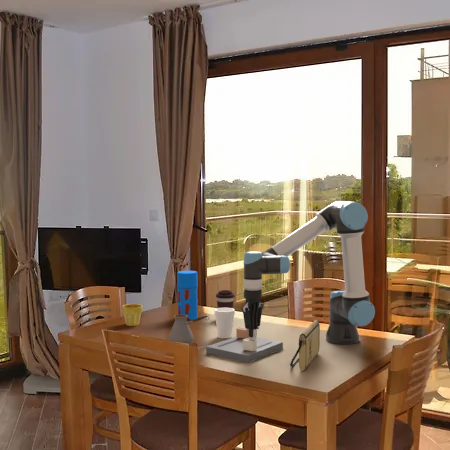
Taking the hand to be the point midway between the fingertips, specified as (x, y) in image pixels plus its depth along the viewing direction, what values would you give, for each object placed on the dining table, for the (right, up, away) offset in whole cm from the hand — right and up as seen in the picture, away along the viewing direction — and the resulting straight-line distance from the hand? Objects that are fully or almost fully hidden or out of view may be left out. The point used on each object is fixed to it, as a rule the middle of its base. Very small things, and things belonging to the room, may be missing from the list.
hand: (252, 344), depth 258 cm
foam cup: (-12, -3, +32) cm, 34 cm away
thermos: (-32, 0, +72) cm, 78 cm away
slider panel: (-3, -4, +8) cm, 9 cm away
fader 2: (-1, -2, -2) cm, 3 cm away
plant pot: (-59, -1, +58) cm, 83 cm away
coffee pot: (-28, -4, +17) cm, 33 cm away
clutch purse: (+21, -6, -8) cm, 23 cm away
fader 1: (-4, 0, +18) cm, 19 cm away
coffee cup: (-11, 0, +70) cm, 71 cm away
